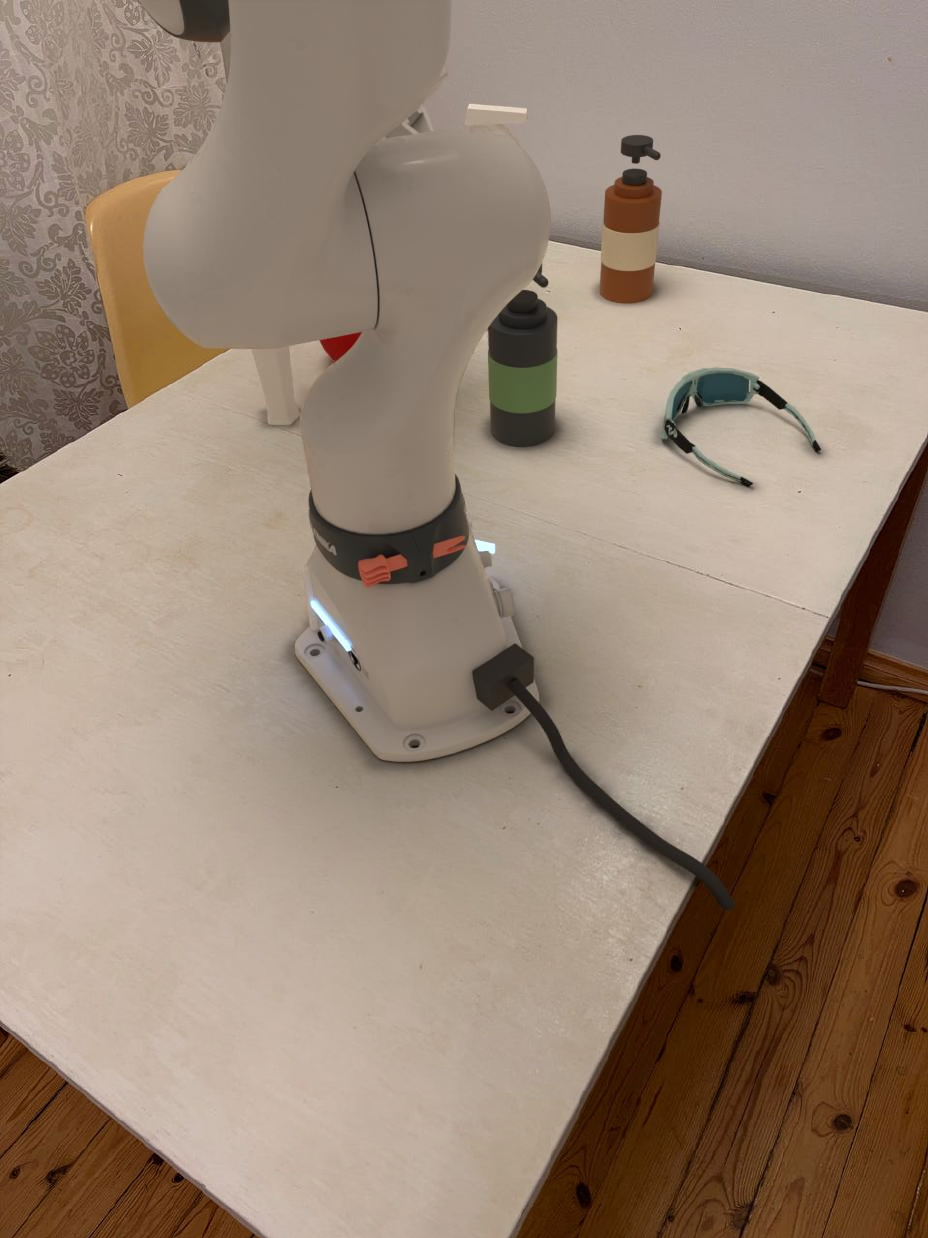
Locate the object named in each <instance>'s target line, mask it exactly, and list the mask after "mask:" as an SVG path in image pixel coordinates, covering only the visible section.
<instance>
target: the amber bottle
mask: <svg viewBox="0 0 928 1238" xmlns="http://www.w3.org/2000/svg"><path fill="white" fill-rule="evenodd" d="M613 183H614V184H612V185H610V186H608V187H607V188H606V189H605V191H604V204H603V221H602V227H601V229H602V230H601V248H600V272H599V273H600V274H599V275H600V276H599V295H600V296H601V297H602V298H603V299H604V300H606V301H609V302H613V303H618V304H637V303H641V302H644V301H646V300H648V299H650V298H651V296H652V295H653V292H654V291H653V290H654V280H655V279H654V278H655V270H656V269H655V268H656V262H657V254H658V246H659V245H658V244H659V233H660V224H661V223H660V217H661V206H662V196H663V191H662V189H661V188H660V187H659V186H658V185H655V182H654V180H653V179H652V178H651V177H649V176H648V171H646V170H645V169H642V168H627V169H625V170H623V171H622V174H621V176H620V177H618V178H616V179H615V180H614V182H613Z"/></svg>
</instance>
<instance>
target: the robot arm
mask: <svg viewBox="0 0 928 1238" xmlns="http://www.w3.org/2000/svg"><path fill="white" fill-rule="evenodd" d="M137 2H138V3H139V4H140V6H141V7H142V9H143V10H144V11H145V12H146V14H147V15H149V17H150V18H151V20H153V21H154V22H155V24H156V25H158V26H159V28H161V29H162V30H163V31H164V32H166V33H167V34H168V35H170V36H172V37H174V38H176V39H180V40H185V41H190V42H197V43H221V42H223V40H224V39H225V38H226V37H227V36H228V34H230V64H229V72H228V77H227V78H228V79H227V83H226V87H225V91H224V95H223V98H222V102H221V104H220V107H219V110H218V113H217V116H216V118H215V120H214V122H213V124H212V127H211V128H210V130H209V132H208V134H207V136H206V137H205V140H204V141H203V143H202V144H201V146H200V147H199V149H198V150H197V152H196V153H195V155H194V156H193V157H192V158H191V159H190V160H189V162H188V163H187V164H186V166H185V167H184V168H183V169H182V170H181V171H180V172H179V173H178V174H177V175H176V176H175V177H174V178H172V180H170V181H169V182H168V183H167V184H165V185H163V187H162V188H161V189H160V191H159V192H158V194H157V196H155V199H154V201H153V203H152V205H151V207H150V210H149V212H148V215H147V218H146V222H145V226H144V227H145V228H144V232H143V240H142V241H143V242H142V255H143V265H144V269H145V270H144V271H145V274H146V279H147V281H148V284H149V287H150V290H151V292H152V295H153V297H154V299H155V301H156V302H157V304H158V306H159V308H160V309H161V311H162V312H163V314H164V315H165V316H166V318H167V319H168V320H169V322H170V323H171V324H172V325H173V326H174V327H175V328H176V329H177V330H178V331H179V332H180V333H181V334H182V335H183V336H184V337H186V338H187V339H188V340H190V341H191V342H193V343H194V344H195V345H198V346H199V347H200V348H202V349H223V350H252V349H277V348H282V347H287V346H289V347H291V346H297V345H301V344H306V343H311V342H317V341H319V340H323V339H328V338H333V337H338V336H343V335H348V334H353V333H358V332H362V333H361V335H360V337H359V338H358V340H357V341H356V343H355V344H354V345H353V346H352V348H351V349H350V350H349V351H348V352H347V353H345V354H344V355H343V356H342V357H341V358H340V359H338V360H337V361H336V362H335V361H334V362H333V363H332V364H330V365H329V366H328V367H327V368H326V369H324V371H322V372H321V373H320V374H319V375H318V376H317V377H316V379H315V380H314V381H313V383H312V384H311V386H310V388H309V389H308V392H307V394H306V396H305V398H304V400H303V403H302V406H301V410H300V416H299V424H298V425H299V431H300V436H301V441H302V447H303V453H304V458H305V464H306V468H307V474H308V479H309V486H310V490H309V493H308V521H309V524H310V529H311V531H312V535H313V539H314V543H315V545H314V548H313V550H312V552H311V554H310V556H309V558H308V560H307V561H306V563H305V564H304V567H303V569H302V570H301V575H302V582H303V590H304V597H305V604H306V610H307V615H308V616H307V617H308V624H309V626H308V627H307V628H306V629H305V630H304V631H303V632H301V634H300V635H299V636H298V637H297V639H296V640H295V643H294V654H295V656H296V659H298V661H299V662H300V663H301V665H302V666H303V667H304V668H305V670H306V671H307V672H308V674H309V675H310V676H311V677H312V678H313V680H314V681H315V683H316V684H317V685H318V686H319V687H320V688H321V690H322V691H323V692H324V693H325V694H326V696H327V698H328V699H329V700H330V701H331V702H332V703H333V705H334V706H335V707H336V708H337V709H338V711H339V712H340V713H341V715H342V716H343V717H344V718H345V720H346V721H347V722H348V724H349V725H350V726H351V727H352V728H353V729H354V731H355V733H357V735H358V737H360V738H361V740H362V741H363V742H364V743H365V744H366V746H367V747H368V748H369V750H370V751H371V752H372V753H373V754H374V755H375V756H376V757H377V758H378V759H380V760H381V761H385V762H386V761H387V762H399V763H404V762H405V763H408V762H409V763H410V762H420V761H427V760H432V759H439V758H442V757H445V756H449V755H454V754H456V753H459V752H462V751H465V750H468V749H471V748H474V747H476V746H479V745H480V744H483V743H486V742H489V741H491V740H493V739H495V738H497V737H499V736H502V735H503V734H504V733H507V732H509V731H510V730H512V729H513V728H515V727H517V726H518V725H519V724H521V723H522V722H523V721H524V720H525V719H527V718H528V717H529V716H530V715H532V717H533V718H534V719H535V720H536V722H537V723H538V724H539V726H540V727H541V729H542V730H543V732H544V733H545V735H546V737H547V739H548V741H549V744H550V746H551V749H552V751H553V752H554V756H555V757H556V758H557V760H558V762H559V763H560V765H561V766H562V767H563V769H564V771H566V773H567V774H568V775H569V776H570V778H571V779H572V780H573V781H574V782H575V784H576V785H578V787H580V788H581V789H582V790H583V791H584V792H585V793H586V794H587V795H588V796H589V797H590V798H591V799H592V800H593V801H595V803H597V804H598V806H600V807H601V808H602V809H603V810H605V811H606V812H607V813H608V814H609V815H610V816H611V817H613V818H614V820H616V821H617V822H618V823H619V824H621V825H622V826H623V827H625V828H626V829H627V830H628V831H629V832H631V833H633V835H635V836H636V837H637V838H638V839H639V840H641V841H642V842H643V843H644V844H646V845H647V846H649V848H651V849H652V850H654V851H655V852H657V854H659V855H661V856H662V857H664V858H666V859H668V860H669V861H671V862H673V863H674V864H676V865H677V866H679V867H681V868H682V869H685V870H686V871H687V872H689V873H691V874H692V875H693V876H694V877H696V878H697V879H698V880H699V881H700V882H702V883H703V884H704V885H705V887H706V888H707V889H708V890H709V892H710V893H711V894H712V896H713V897H714V898H715V901H716V903H717V904H718V905H719V906H720V907H721V908H722V909H723V910H725V911H726V910H727V911H732V910H734V908H735V902H734V900H733V898H732V896H731V894H730V892H729V891H728V889H727V888H726V886H725V885H724V883H723V882H722V881H721V879H719V877H718V876H717V875H716V874H715V873H714V872H713V871H712V870H711V869H710V868H709V867H707V866H706V865H705V864H704V863H703V862H702V861H699V860H698V859H697V858H695V857H694V856H692V855H690V854H688V853H687V852H685V851H683V850H682V849H680V848H678V847H676V846H675V845H673V844H671V843H669V842H668V841H667V840H665V839H664V838H662V837H661V836H660V835H658V834H657V833H656V832H654V831H653V830H652V829H651V828H650V827H648V826H647V825H645V824H644V823H643V822H641V820H639V819H638V818H636V817H635V816H634V815H633V814H631V813H630V812H628V811H627V809H625V808H624V807H623V806H622V805H620V804H619V803H618V802H617V801H616V800H614V798H613V797H612V796H610V795H609V794H608V793H607V792H606V791H605V790H603V789H602V788H601V787H600V786H599V785H598V784H597V783H596V782H595V781H594V780H593V779H591V777H589V776H588V775H587V773H586V772H585V771H584V770H583V769H582V768H581V767H580V765H579V764H578V763H577V762H576V761H575V759H574V758H573V756H572V754H571V753H570V752H569V750H568V748H567V746H566V744H565V742H564V739H563V738H562V735H561V733H560V730H559V729H558V727H557V725H556V723H555V722H554V720H553V718H552V717H551V716H550V715H549V713H548V712H547V711H546V710H545V708H544V707H543V706H542V705H541V703H540V694H539V690H538V687H537V683H536V681H535V678H534V677H535V657H534V656H533V655H532V654H531V653H529V652H528V651H526V650H525V649H524V648H523V645H522V643H521V641H520V638H519V635H518V633H517V630H516V626H515V624H514V621H513V618H512V617H513V616H515V614H516V606H515V600H514V597H513V593H512V591H511V589H510V588H507V587H506V588H501V587H500V584H499V583H498V581H497V580H495V579H493V578H491V577H488V575H487V572H486V570H485V569H487V568H491V567H492V565H493V560H492V554H495V553H496V543H491V542H487V541H483V540H479V539H475V535H474V533H473V521H472V519H471V518H468V513H467V512H468V511H467V505H466V500H465V497H464V493H463V491H462V487H461V483H460V480H459V477H458V476H457V473H456V467H455V466H456V465H455V463H456V462H455V424H456V423H455V422H456V408H457V407H456V406H457V405H456V404H457V399H458V395H459V390H460V386H461V383H462V380H463V378H464V374H465V371H466V369H467V366H468V365H469V363H470V360H471V358H472V356H473V354H474V352H475V350H476V348H477V346H478V345H479V343H480V342H481V340H482V338H483V336H484V335H485V333H486V332H487V331H488V327H489V326H490V324H491V323H492V322H493V320H494V319H495V318H496V317H497V315H498V314H499V313H500V312H501V311H502V309H503V308H504V307H505V306H506V305H507V304H508V303H509V302H510V301H511V300H512V299H513V298H514V297H515V296H516V295H517V294H518V293H520V292H521V291H522V290H525V289H526V288H527V287H528V286H529V285H530V284H531V283H532V282H533V278H534V277H535V275H536V273H537V272H538V270H539V268H540V266H541V264H542V265H543V262H544V259H545V255H546V253H547V250H548V246H549V240H550V236H551V228H552V227H551V223H552V220H551V219H552V218H551V214H552V213H551V205H550V199H549V195H548V189H547V186H546V183H545V181H544V178H543V176H542V175H541V172H540V170H539V168H538V166H537V165H536V163H535V162H534V160H533V159H532V157H531V156H530V155H529V154H528V152H527V151H526V150H525V149H524V148H523V147H522V146H521V145H520V143H519V144H518V143H517V142H516V141H515V140H514V139H512V138H511V137H509V136H506V135H496V134H493V133H487V132H486V133H477V132H470V131H461V130H460V131H457V130H441V129H440V130H435V129H434V125H433V122H432V120H431V118H430V114H429V113H428V110H427V109H426V107H425V106H424V104H425V102H426V101H427V100H428V99H430V98H431V96H433V95H434V94H435V92H436V91H437V90H438V89H439V87H440V86H441V85H442V84H443V82H444V81H445V80H446V79H447V77H448V74H449V72H448V69H447V66H446V62H447V60H448V57H449V56H448V55H449V52H450V47H451V31H452V30H451V29H452V6H453V4H452V3H453V0H137ZM509 712H510V713H509ZM415 746H418V747H415Z"/></svg>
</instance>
